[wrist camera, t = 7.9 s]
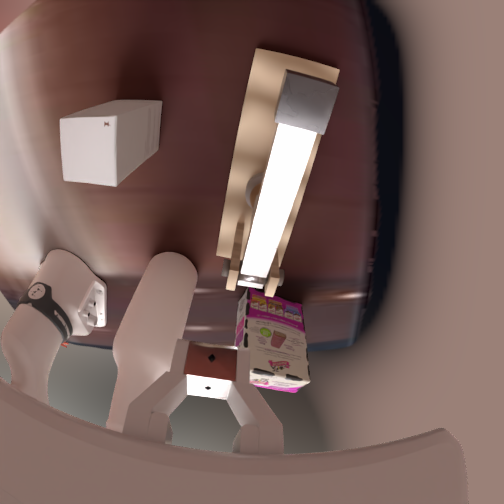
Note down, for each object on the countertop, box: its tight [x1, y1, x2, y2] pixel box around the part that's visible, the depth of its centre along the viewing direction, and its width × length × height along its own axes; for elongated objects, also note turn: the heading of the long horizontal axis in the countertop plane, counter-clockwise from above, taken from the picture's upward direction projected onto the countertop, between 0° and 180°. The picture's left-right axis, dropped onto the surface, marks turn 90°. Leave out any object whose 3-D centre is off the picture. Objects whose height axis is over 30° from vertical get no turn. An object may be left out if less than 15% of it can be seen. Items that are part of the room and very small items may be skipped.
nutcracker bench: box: [216, 48, 339, 297], centre depth 30 cm, size 30×10×12 cm, turn 169°
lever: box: [237, 69, 339, 289], centre depth 26 cm, size 24×4×5 cm, turn 169°
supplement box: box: [60, 100, 162, 187], centre depth 26 cm, size 7×7×13 cm
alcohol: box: [106, 252, 198, 433], centre depth 34 cm, size 9×9×30 cm
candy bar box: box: [234, 287, 310, 393], centre depth 43 cm, size 11×5×16 cm, turn 66°
